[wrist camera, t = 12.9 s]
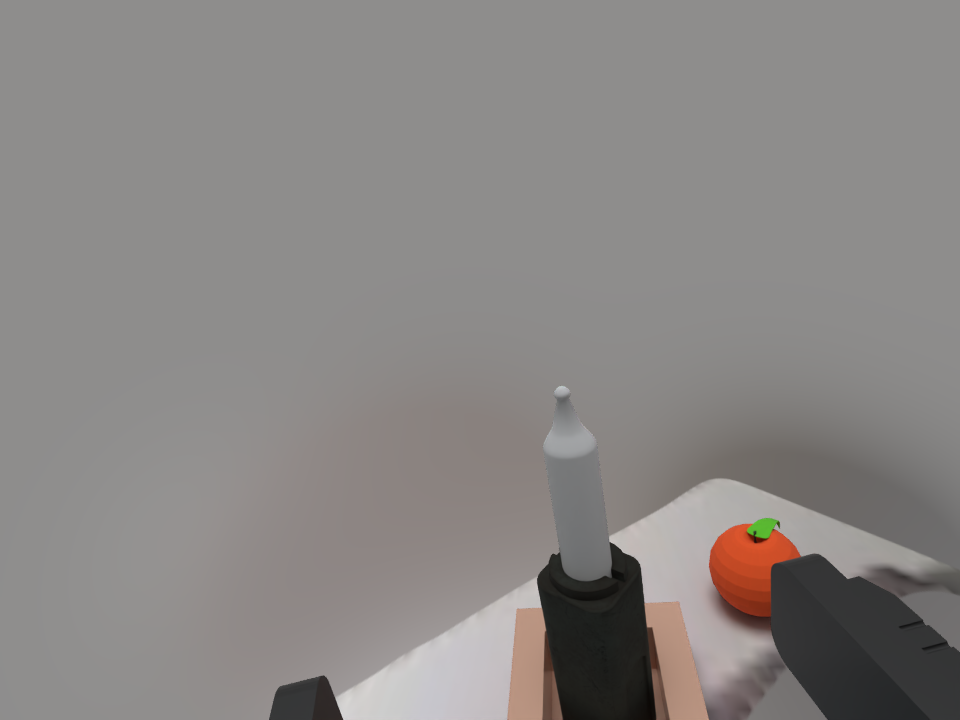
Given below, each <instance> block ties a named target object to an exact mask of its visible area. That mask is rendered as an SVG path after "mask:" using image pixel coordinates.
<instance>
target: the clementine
mask: <svg viewBox="0 0 960 720" xmlns="http://www.w3.org/2000/svg"><path fill="white" fill-rule="evenodd" d="M776 523H777V525H778V527H779V528H780V522H779V521H778V520H775V519H771V518H764V519H761V520H758V521H757V522H755V523H754V524H742V525H737V526H734V527H732V528H730V529H728V530H727V531H725V532H724V533H723V534H722V535H720V536H719V537H718V539H717V540H716V542H715V544H714V546H713V547H712V549H711V553H710V562H709V568H710V573H711V577H712V580H713V583H714V585H715V586H716V588H717V590H718V591H719V593H720V594H721V596H722V597H723V598H724V599H725V600H726V601H727V602H728V603H730V604H731V605H732V606H734V607H735V608H737V609H739V610H740V611H742V612H744V613H747V614H750V615H754V616H760V617H770V616H771V568H772V566H773V564H775V563H779V562H783V561H786V560H790V559H794V558H798V557H801V556H800V554H799V552H798V550H797V548H796V547H795V546H794V545H793V543H792V542H791V541H790V540H789V539H787V538H786V537H785V536H784V535H783V534H781V533H780V532H778V531H777V530H775V529H773V528H774V527H775V525H776Z"/></svg>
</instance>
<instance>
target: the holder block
mask: <svg viewBox="0 0 960 720" xmlns="http://www.w3.org/2000/svg"><path fill="white" fill-rule="evenodd" d="M644 604H645V613H646V623H647V632H648V642H649V651H650V661H651V670H652V680H653V689H654V699H655V708H656V720H709V718H708V714H707V710H706V706H705V702H704V698H703V695H702V691H701V687H700V683H699V679H698V675H697V671H696V667H695V663H694V659H693V655H692V651H691V648H690V644H689V640H688V636H687V632H686V628H685V624H684V620H683V616H682V612H681V608H680V604H679V602H663V603H644ZM507 720H563V718H562V713H561V707H560V702H559V696H558V691H557V686H556V680H555V675H554V670H553V664H552V659H551V654H550V648H549V643H548V638H547V632H546V627H545V622H544V616H543V611H542V608H528V609H517V612H516V624H515V636H514V648H513V660H512V671H511V683H510V695H509V707H508V719H507Z"/></svg>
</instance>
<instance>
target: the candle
mask: <svg viewBox="0 0 960 720" xmlns="http://www.w3.org/2000/svg"><path fill="white" fill-rule="evenodd" d="M554 396H555V398H556V399H557V403H556V409H555V415H554V420H553V426H552V429H551V431H550V432H549V434H548V436H547V438H546V440H545V442H544V444H543V451H544V458H545V464H546V470H547V476H548V482H549V488H550V494H551V500H552V506H553V512H554V518H555V524H556V530H557V536H558V542H559V550H560V552H559V553H558V554H557V555H555V554H552V555H551V557H550V560H549V564H548V565H547V566H546V567H545V568H544V569H543V570H542V571H541V572H540V574H539V575H538V578H537V584H538V590H539V595H540V600H541V606H542V611H543V616H544V622H545V627H546V632H547V638H548V643H549V648H550V654H551V659H552V664H553V670H554V675H555V680H556V686H557V691H558V696H559V702H560V707H561V713H562V718H563V720H656V708H655V699H654V689H653V680H652V670H651V661H650V651H649V642H648V632H647V623H646V613H645V604H644V594H643V584H642V575H641V567H640V564H639V562H638V561H637V560H636V559H635V558H634V557H632V556H630V555H627V554H625V553H623V552H622V551H621V549H619V548H618V547H617V546H616V545H615V544H613V543H611V542H609V535H608V527H607V519H606V511H605V503H604V495H603V488H602V480H601V472H600V464H599V457H598V448H597V442H596V439H595V437H594V436H593V435H592V434H591V433H590V432H589V431H588V430H587V429H586V428H585V427H584V426H583V425H582V424H581V422H580V420H579V418H578V416H577V414H576V412H575V410H574V408H573V406H572V404H571V402H570V400H569V397H570V391H569V390H568V389H567V388H566V387H564V386H560V387H558V388H557V389H556V390H555V392H554Z"/></svg>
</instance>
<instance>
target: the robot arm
mask: <svg viewBox="0 0 960 720" xmlns="http://www.w3.org/2000/svg"><path fill="white" fill-rule="evenodd" d="M771 631H772V635H773V639H774V642H775V645H776V647H777V650H778V652H779V654H780V656H781V658H782V659H783V661H784V663H785V664H786V666H787V667H788V668H789V670H790V671H791V672H792V674H793V675H794V676H795V677H796V679H797V680H798V681H799V683H800V684H801V685H802V687H803V688H804V689H805V690H806V692H807V693H808V694H809V696H810V697H811V698H812V700H813V701H814V702H815V704H816V705H817V706H818V708H819V709H820V710H821V712H822V713H823V714H824V715H825V717H826V718H827V719H828V720H960V652H959V651H958V650H957V649H955V648H954V647H952V648H951V647H950V646H949V645H948V643H947V641H946V640H945V639H944V638H943V637H942V636H941V635H939V634H938V633H937V632H936V631H935V630H934V629H933V628H932V627H930V626H929V625H927V626H926V625H925V624H924V622H923V620H922V619H921V618H920V617H919V616H918V615H917V614H915V612H913V611H912V610H911V609H910V608H909V607H908V606H907V605H905V604H904V603H903V602H902V601H901V600H900V599H899V598H898V597H896V596H895V595H894V594H892V593H890V592H888V591H886V590H884V589H882V588H880V587H879V586H877V585H875V584H873V583H871V582H869V581H867V580H865V579H863V578H861V577H855V578H851V579H847V578H846V577H845V576H844V575H843V574H842V573H840V572H839V571H838V570H837V569H836V568H835V567H834V566H833V565H832V564H831V563H830V562H829V561H828V560H826V559H825V558H824V557H823V556H821V555H819V554H810V555H806V556H802V557H798V558H794V559H790V560H786V561H783V562H779V563H775V564H773V566H772V568H771ZM269 720H343V718H342V715H341V713H340V710H339V707H338V705H337V702H336V699H335V697H334V694H333V692H332V689H331V686H330V684H329V681H328V679H327V678H326V677H325V676H319V677H316V678H311V679H307V680H303V681H300V682H296V683H292V684H288V685H284V686H280V687H279V688H278V690H277V691H276V694H275V697H274V701H273V705H272V710H271V714H270V718H269Z"/></svg>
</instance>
